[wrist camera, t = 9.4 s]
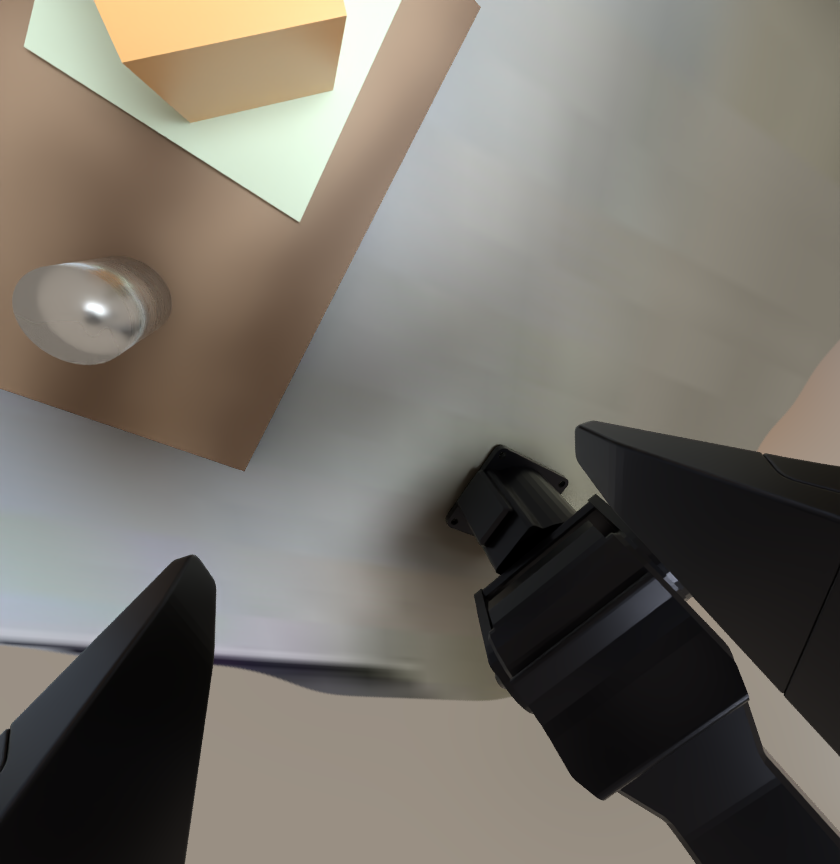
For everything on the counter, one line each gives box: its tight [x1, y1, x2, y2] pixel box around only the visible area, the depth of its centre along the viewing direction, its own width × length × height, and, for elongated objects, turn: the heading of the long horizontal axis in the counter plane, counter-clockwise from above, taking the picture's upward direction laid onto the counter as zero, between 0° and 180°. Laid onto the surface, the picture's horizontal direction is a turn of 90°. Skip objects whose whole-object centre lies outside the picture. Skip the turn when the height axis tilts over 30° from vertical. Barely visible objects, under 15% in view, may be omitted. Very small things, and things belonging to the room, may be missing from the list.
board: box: [0, 0, 481, 471], centre depth 15 cm, size 14×22×1 cm, turn 148°
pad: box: [24, 0, 402, 222], centre depth 13 cm, size 9×9×1 cm
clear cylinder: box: [12, 256, 172, 365], centre depth 14 cm, size 3×3×4 cm
